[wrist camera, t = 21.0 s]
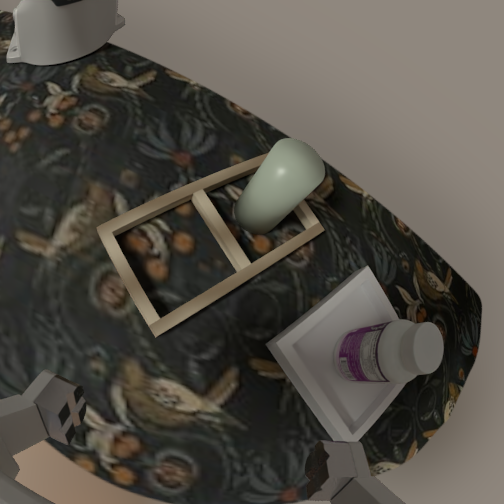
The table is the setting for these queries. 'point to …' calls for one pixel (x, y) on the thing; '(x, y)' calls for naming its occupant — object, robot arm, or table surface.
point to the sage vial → (279, 185)
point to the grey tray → (322, 357)
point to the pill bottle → (389, 352)
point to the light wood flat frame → (218, 229)
